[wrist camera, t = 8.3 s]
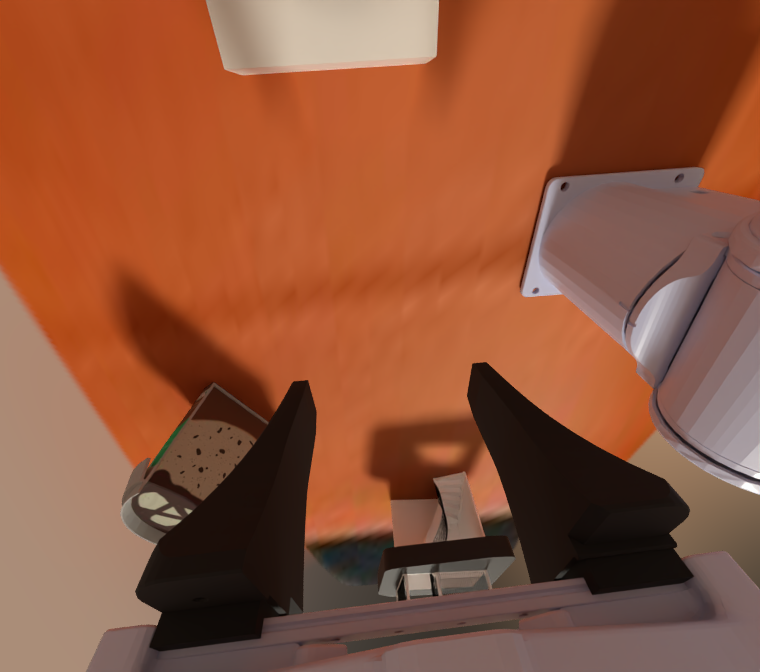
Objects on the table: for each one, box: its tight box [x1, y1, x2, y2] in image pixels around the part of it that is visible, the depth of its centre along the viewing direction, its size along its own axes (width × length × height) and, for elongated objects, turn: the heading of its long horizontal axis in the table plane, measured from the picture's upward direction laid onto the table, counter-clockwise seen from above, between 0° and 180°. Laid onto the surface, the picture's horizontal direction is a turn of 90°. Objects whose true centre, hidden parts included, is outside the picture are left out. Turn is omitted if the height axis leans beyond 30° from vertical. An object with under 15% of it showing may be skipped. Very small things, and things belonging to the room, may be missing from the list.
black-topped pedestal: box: [378, 472, 515, 601], centre depth 35 cm, size 28×26×13 cm
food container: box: [121, 382, 269, 545], centre depth 26 cm, size 12×6×10 cm, turn 31°
